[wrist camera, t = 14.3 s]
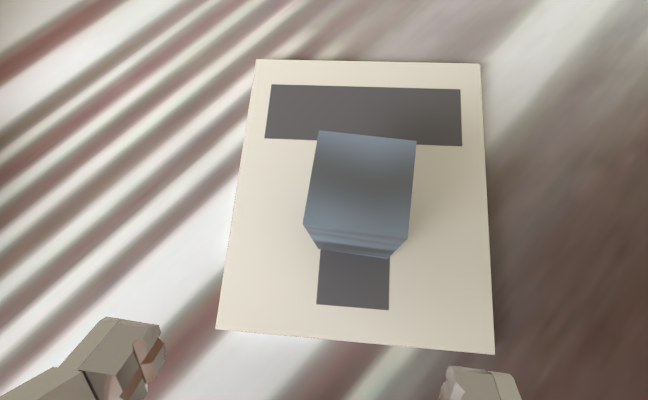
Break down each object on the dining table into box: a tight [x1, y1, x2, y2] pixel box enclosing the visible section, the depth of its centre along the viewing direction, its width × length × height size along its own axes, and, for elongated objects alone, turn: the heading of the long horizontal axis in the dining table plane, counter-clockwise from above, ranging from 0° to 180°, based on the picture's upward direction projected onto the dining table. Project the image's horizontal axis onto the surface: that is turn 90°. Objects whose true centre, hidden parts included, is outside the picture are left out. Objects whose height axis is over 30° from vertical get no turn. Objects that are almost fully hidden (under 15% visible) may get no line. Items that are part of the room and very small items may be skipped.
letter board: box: [215, 59, 495, 355], centre depth 24 cm, size 20×17×1 cm
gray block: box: [303, 130, 417, 259], centre depth 19 cm, size 4×4×8 cm
